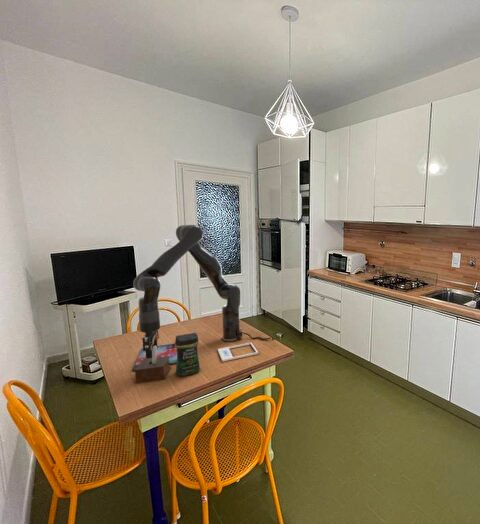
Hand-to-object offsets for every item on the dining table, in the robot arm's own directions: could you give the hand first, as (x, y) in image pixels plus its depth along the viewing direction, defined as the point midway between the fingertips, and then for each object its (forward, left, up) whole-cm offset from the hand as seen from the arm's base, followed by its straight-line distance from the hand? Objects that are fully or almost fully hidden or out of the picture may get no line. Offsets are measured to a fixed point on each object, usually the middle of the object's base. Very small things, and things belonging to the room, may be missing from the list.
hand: (152, 353), depth 133 cm
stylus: (0, 0, -10) cm, 10 cm away
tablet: (+2, -20, -10) cm, 23 cm away
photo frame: (-36, -13, -10) cm, 40 cm away
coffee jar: (-14, +2, -10) cm, 18 cm away
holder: (0, 0, -10) cm, 10 cm away
